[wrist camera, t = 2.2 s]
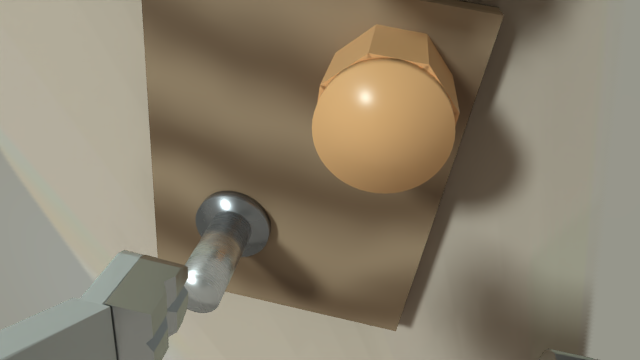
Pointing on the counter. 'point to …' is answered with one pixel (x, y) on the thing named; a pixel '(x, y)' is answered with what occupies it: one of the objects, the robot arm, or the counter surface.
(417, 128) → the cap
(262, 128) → the board
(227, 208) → the stud
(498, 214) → the counter surface
